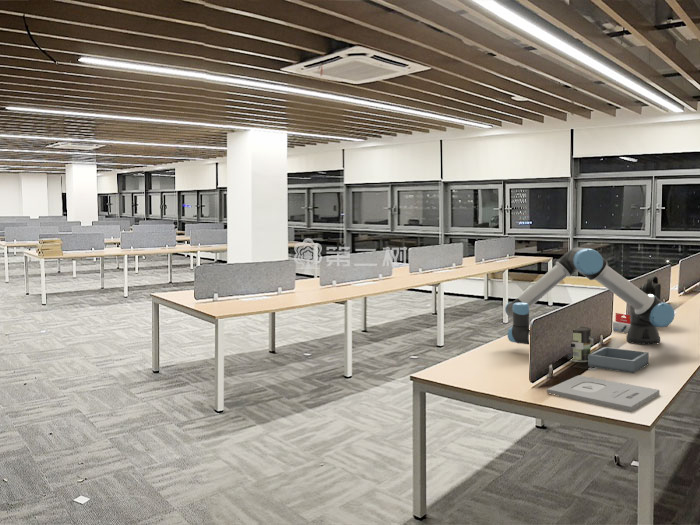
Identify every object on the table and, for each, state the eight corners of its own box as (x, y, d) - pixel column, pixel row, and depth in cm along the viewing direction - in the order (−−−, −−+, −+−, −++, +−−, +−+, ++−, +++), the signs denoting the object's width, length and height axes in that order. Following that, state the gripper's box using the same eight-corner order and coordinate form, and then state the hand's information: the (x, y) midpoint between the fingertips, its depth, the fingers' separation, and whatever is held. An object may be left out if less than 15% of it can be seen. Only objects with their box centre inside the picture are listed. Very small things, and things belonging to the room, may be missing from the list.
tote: (604, 357, 262) (604, 346, 262) (648, 364, 249) (648, 352, 249) (588, 366, 249) (588, 354, 248) (633, 373, 236) (633, 361, 236)
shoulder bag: (655, 328, 320) (655, 278, 318) (637, 327, 326) (637, 277, 323) (663, 322, 338) (663, 274, 336) (645, 320, 343) (646, 273, 341)
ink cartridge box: (629, 334, 309) (629, 316, 308) (612, 330, 319) (612, 313, 318) (632, 333, 310) (633, 315, 309) (615, 330, 320) (615, 312, 319)
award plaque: (630, 413, 192) (630, 406, 192) (546, 394, 214) (546, 389, 214) (659, 395, 209) (659, 389, 209) (578, 380, 231) (578, 375, 231)
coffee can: (588, 356, 265) (588, 326, 264) (593, 362, 255) (593, 330, 254) (564, 356, 267) (564, 326, 266) (568, 362, 257) (568, 330, 256)
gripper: (551, 341, 281) (598, 347, 266) (528, 350, 265) (577, 357, 249) (551, 326, 280) (598, 331, 265) (528, 334, 264) (577, 340, 249)
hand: (588, 344), depth 257 cm, fingers closed on coffee can, 10 cm apart
